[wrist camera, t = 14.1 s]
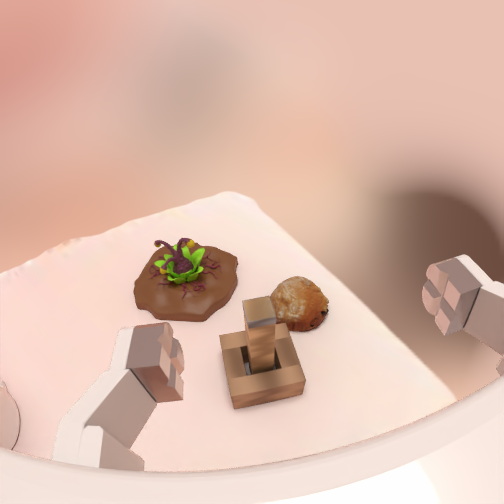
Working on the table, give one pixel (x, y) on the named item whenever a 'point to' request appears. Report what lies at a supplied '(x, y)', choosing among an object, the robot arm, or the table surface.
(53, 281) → the table surface
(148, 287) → the plant
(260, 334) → the upright wooden post
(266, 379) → the square wooden socket base
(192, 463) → the table surface
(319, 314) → the bread roll
